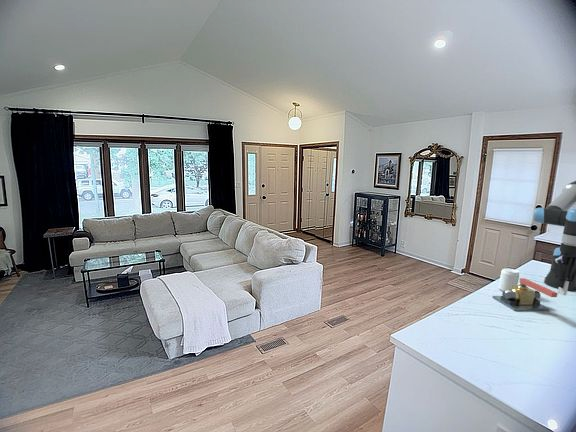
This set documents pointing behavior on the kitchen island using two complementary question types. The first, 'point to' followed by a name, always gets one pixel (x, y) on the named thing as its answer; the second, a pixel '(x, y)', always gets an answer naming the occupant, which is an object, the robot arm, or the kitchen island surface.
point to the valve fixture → (521, 299)
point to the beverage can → (508, 278)
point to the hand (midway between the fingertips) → (561, 293)
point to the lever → (537, 287)
